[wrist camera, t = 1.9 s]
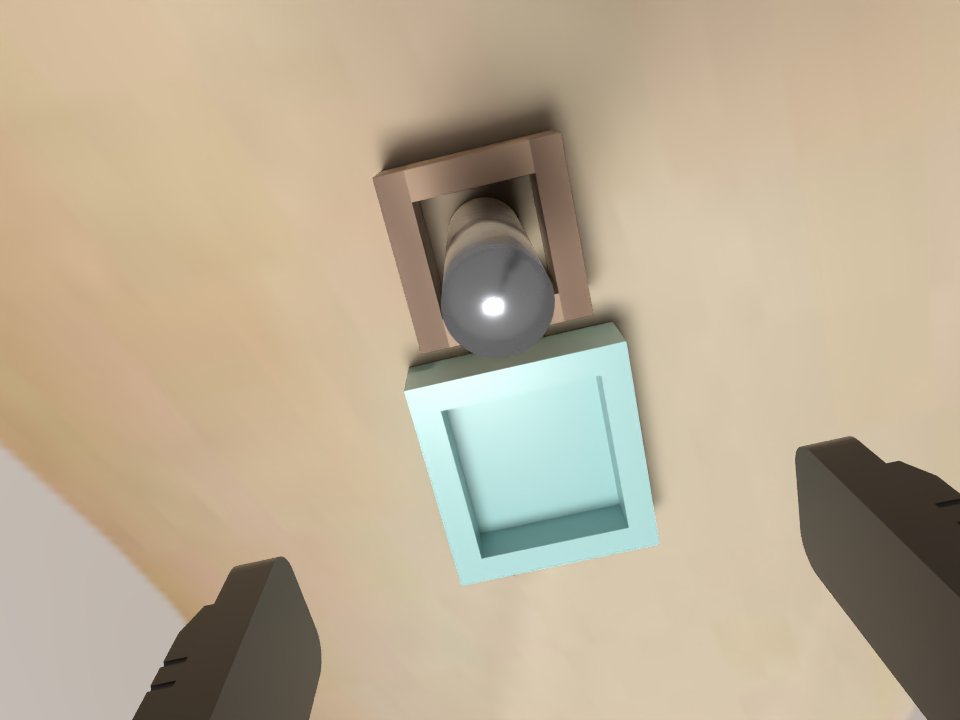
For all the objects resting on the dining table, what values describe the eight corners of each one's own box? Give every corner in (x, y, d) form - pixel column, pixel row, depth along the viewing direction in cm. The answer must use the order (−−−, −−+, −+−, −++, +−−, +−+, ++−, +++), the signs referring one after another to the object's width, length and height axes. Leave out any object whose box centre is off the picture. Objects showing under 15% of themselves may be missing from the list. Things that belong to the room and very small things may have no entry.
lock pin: (512, 189, 36) (542, 235, 23) (527, 261, 38) (564, 344, 24) (439, 206, 36) (428, 262, 23) (457, 278, 38) (456, 368, 25)
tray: (612, 321, 39) (626, 341, 36) (644, 511, 43) (659, 544, 40) (408, 367, 40) (404, 391, 36) (461, 550, 44) (461, 585, 41)
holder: (550, 129, 35) (560, 132, 31) (580, 294, 38) (593, 314, 35) (381, 170, 36) (372, 178, 32) (425, 329, 39) (421, 353, 35)
